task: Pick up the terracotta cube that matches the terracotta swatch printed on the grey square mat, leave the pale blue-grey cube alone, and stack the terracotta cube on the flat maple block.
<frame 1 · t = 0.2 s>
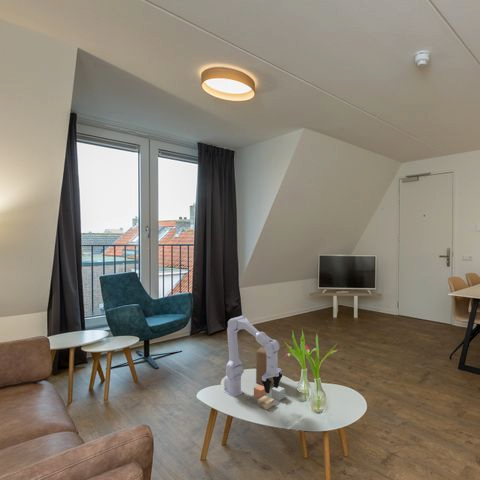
hand: (271, 390, 168), 10 cm above the table, fingers open, 7 cm apart
grey square mat: (266, 399, 177), on the table
maple block: (265, 405, 171), resting on grey square mat
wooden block: (265, 382, 198), on the table
blue-grey cube: (278, 397, 179), resting on grey square mat
terracotta cube: (260, 396, 180), resting on grey square mat
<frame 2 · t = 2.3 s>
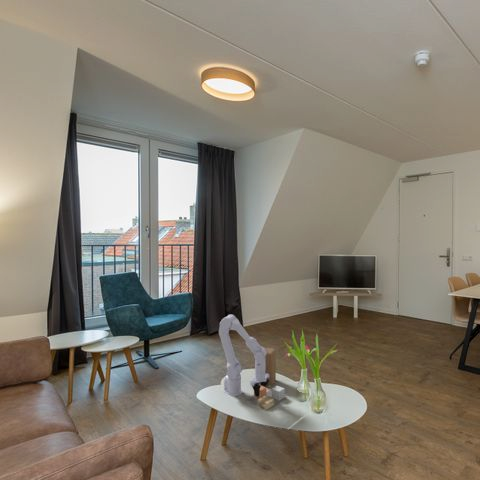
hand: (260, 394, 180), 2 cm above the table, fingers closed on terracotta cube, 5 cm apart
terracotta cube: (260, 396, 180), resting on grey square mat, touching gripper
everything else where it was.
when the fingers open (6 cm above the table, at t = 5.7 s): terracotta cube stays where it is, resting on maple block.
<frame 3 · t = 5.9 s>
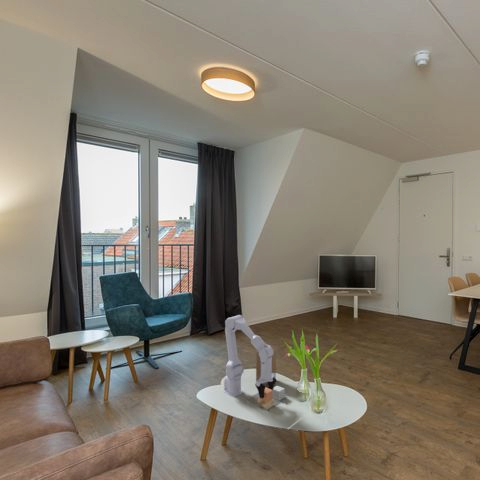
hand: (265, 394, 171), 6 cm above the table, fingers open, 7 cm apart
maple block: (265, 405, 171), resting on grey square mat, touching terracotta cube
terracotta cube: (266, 399, 171), point 3 cm above the table, touching maple block
everything else where it was.
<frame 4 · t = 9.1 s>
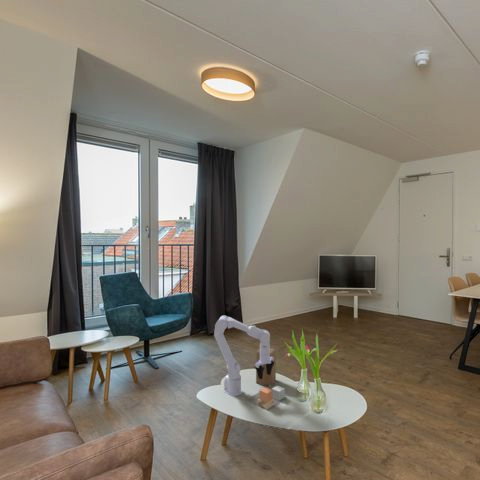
hand: (264, 376, 183), 10 cm above the table, fingers open, 7 cm apart
nothing on the table moved.
at the end: terracotta cube 0.1 cm off-centre on the maple block, point 3.0 cm above the maple block's base; terracotta cube tilted 0°; blue-grey cube moved 0.0 cm from its start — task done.
